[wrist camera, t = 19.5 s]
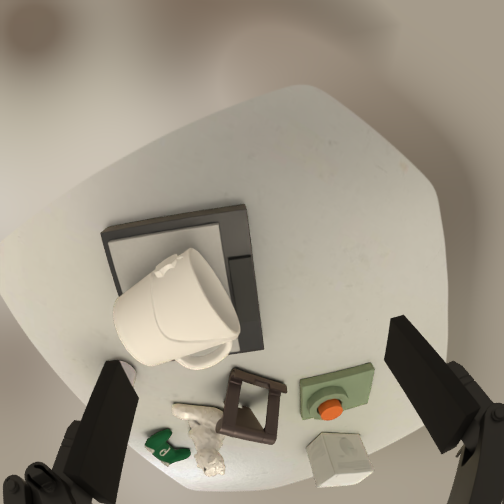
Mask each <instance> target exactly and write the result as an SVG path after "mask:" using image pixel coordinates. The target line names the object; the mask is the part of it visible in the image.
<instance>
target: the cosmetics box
mask: <svg viewBox="0 0 504 504" xmlns="http://www.w3.org/2000/svg"><path fill="white" fill-rule="evenodd" d="M306 450H307V453H308V457H309V460H310V464H311V468H312V471H313V475H314V479H315V482H316V486H317V487H332V486H344V485H354V484H357V483H359V482H360V481H362V480H363V479H364V478H366V477H367V476H369V475H370V474H372V473H373V472H374V471H375V470H374V468H373V466H372V463H371V461H370V459H369V456H368V454H367V452H366V449H365V447H364V445H363V442H362V440H361V437H360V434H341V433H321V434H320V435H319V436H318V437H317V438H316V439H315V440H314V441H313V442H312V443H311V444H310V445H309V446H307V447H306Z"/></svg>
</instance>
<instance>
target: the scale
mask: <svg viewBox="0 0 504 504" xmlns="http://www.w3.org/2000/svg"><path fill="white" fill-rule="evenodd" d="M100 234H101V237H102V241H103V245H104V249H105V252H106V256H107V260H108V263H109V267H110V270H111V273H112V276H113V280H114V283H115V286H116V289H117V292H118V295H119V297H120V296H121V295H122V294H124V293H125V292H126V291H128V290H129V289H130V288H131V287H133V286H134V285H135V284H137V283H138V282H139V281H141V280H142V279H143V278H144V277H146V276H147V275H148V274H150V273H151V272H152V271H154V270H155V269H156V266H157V265H158V264H159V263H161V262H162V261H163V260H165V259H166V258H168V257H170V256H172V255H174V254H177V256H179V255H181V254H182V253H184V252H185V251H186V250H188V249H189V248H193V249H195V250H197V251H198V252H199V253H200V254H201V255H202V256H203V257H204V259H205V260H206V261H207V262H208V264H209V265H210V266H211V268H212V269H213V271H214V272H215V274H216V275H217V277H218V279H219V280H220V282H221V284H222V285H223V287H224V289H225V291H226V293H227V294H228V296H229V298H230V300H231V303H232V305H233V307H234V309H235V312H236V314H237V317H238V320H239V324H240V333H239V336H238V337H237V338H236V339H234V340H232V348H231V351H230V352H229V354H228V355H230V354H237V353H245V352H251V351H258V350H264V344H263V336H262V328H261V320H260V312H259V304H258V296H257V288H256V280H255V272H254V264H253V256H252V248H251V240H250V232H249V224H248V216H247V209H246V206H245V204H242V205H235V206H228V207H221V208H214V209H208V210H201V211H195V212H189V213H182V214H176V215H170V216H164V217H159V218H153V219H147V220H142V221H136V222H131V223H125V224H120V225H115V226H110V227H107V228H106V229H105V230H104V231H102V232H101V233H100ZM221 345H222V344H220V345H217V346H214V347H211V348H208V349H205V350H202V351H199V352H196V353H193V354H190V356H195V357H198V356H204V355H207V354H209V353H211V352H213V351H215V350H216V349H218V348H219V347H220V346H221ZM171 361H175V359H174V360H171Z"/></svg>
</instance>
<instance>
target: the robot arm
mask: <svg viewBox="0 0 504 504" xmlns="http://www.w3.org/2000/svg"><path fill="white" fill-rule="evenodd" d="M384 361H385V362H386V364H387V365H388V367H389V369H390V370H391V372H392V373H393V375H394V376H395V378H396V379H397V381H398V383H399V384H400V386H401V387H402V389H403V390H404V392H405V394H406V395H407V397H408V399H409V400H410V402H411V403H412V405H413V407H414V408H415V410H416V412H417V413H418V415H419V416H420V418H421V420H422V421H423V423H424V425H425V426H426V428H427V430H428V431H429V433H430V435H431V437H432V438H433V440H434V442H435V443H436V445H437V447H438V449H439V450H440V452H441V454H443V453H445V452H447V451H449V450H451V449H453V448H455V447H456V446H457V444H458V443H459V441H460V440H462V441H463V443H464V445H463V446H462V447H461V449H460V450H459V451H458V453H457V455H456V457H458V456H459V455H460V454H461V455H460V460H459V464H458V468H457V472H456V476H455V479H454V484H453V487H452V490H451V493H450V497H449V500H448V503H447V504H501V502H502V501H503V502H502V504H504V404H502V403H493V402H492V401H491V400H490V398H489V397H488V396H487V395H486V394H485V392H484V391H483V390H482V389H481V387H480V386H479V385H478V384H477V383H476V382H475V381H474V379H473V378H472V377H471V375H469V373H468V372H467V371H466V370H465V368H464V367H463V366H461V365H460V364H458V363H456V362H455V361H452V362H449V363H447V364H446V363H445V362H444V360H443V359H442V358H441V357H440V356H439V354H438V353H437V352H436V351H435V350H434V349H433V347H432V346H431V345H430V344H429V343H428V342H427V340H426V339H425V338H424V337H423V336H422V335H421V334H420V333H419V331H418V330H417V329H416V328H415V327H414V326H413V325H412V324H411V322H410V321H409V320H408V319H407V318H406V317H405V316H404V315H401V316H398V317H394V318H391V320H390V327H389V334H388V340H387V346H386V352H385V358H384ZM138 400H139V397H138V396H137V394H136V392H135V390H134V388H133V386H132V384H131V383H130V381H129V379H128V377H127V375H126V373H125V371H124V369H123V367H122V365H121V363H120V361H119V360H113V361H106V362H105V364H104V367H103V369H102V371H101V373H100V376H99V378H98V380H97V383H96V385H95V387H94V390H93V392H92V394H91V397H90V399H89V402H88V404H87V407H86V409H85V412H84V414H83V417H82V420H81V421H76V420H74V421H73V422H72V423H71V425H70V426H69V427H68V428H67V431H66V433H65V436H64V439H63V441H62V443H61V445H62V446H60V449H59V451H58V454H57V457H56V460H55V463H54V466H53V468H52V470H51V469H50V468H49V467H48V466H47V465H45V464H44V463H42V462H35V463H32V464H31V465H29V466H28V468H27V469H26V471H25V480H26V481H24V480H23V479H22V478H20V477H19V476H17V475H11V476H8V477H7V478H6V479H5V481H4V484H3V499H4V504H92V503H91V502H92V498H94V499H96V500H97V501H98V502H100V503H104V504H115V503H116V498H117V492H118V487H119V481H120V477H121V472H122V467H123V462H124V458H125V453H126V449H127V444H128V440H129V436H130V432H131V427H132V423H133V419H134V415H135V411H136V407H137V403H138Z"/></svg>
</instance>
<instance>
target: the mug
mask: <svg viewBox="0 0 504 504" xmlns="http://www.w3.org/2000/svg"><path fill="white" fill-rule="evenodd" d="M113 318H114V324H115V327H116V330H117V333H118V336H119V338H120V340H121V342H122V343H123V345H124V346H125V348H126V349H127V351H128V352H129V353H130V354H131V355H132V356H133V357H134V358H135V359H136V360H137V361H139V362H140V363H142V364H144V365H147V366H155V365H158V364H162V363H165V362H168V361H171V360H174V359H175V360H176V361H177V362H178V363H180V364H181V365H182V366H184V367H186V368H189V369H194V370H199V369H205V368H208V367H211V366H213V365H215V364H217V363H219V362H220V361H222V360H223V359H224V358H225V357H226V356H227V355H228V354H229V352H230V351H231V348H232V340H234V339H236V338H237V337H238V336H239V333H240V324H239V320H238V317H237V314H236V312H235V309H234V307H233V305H232V303H231V300H230V298H229V296H228V294H227V293H226V291H225V289H224V287H223V285H222V284H221V282H220V280H219V279H218V277H217V275H216V274H215V272H214V271H213V269H212V268H211V266H210V265H209V264H208V262H207V261H206V260H205V259H204V257H203V256H202V255H201V254H200V253H199V252H198V251H197V250H195V249H193V248H189V249H188V250H186V251H185V252H184V253H182V254H181V255H179V256H177V254H174V255H172V256H170V257H168V258H166V259H165V260H163V261H162V262H161V263H159V264H158V265H157V266H156V269H155V270H154V271H152V272H151V273H150V274H148V275H147V276H146V277H144V278H143V279H142V280H141V281H139V282H138V283H137V284H135V285H134V286H133V287H131V288H130V289H129V290H128V291H126V292H125V293H124V294H122V295H121V296H120V297H119V298H117V300H116V301H115V304H114V308H113ZM220 344H222V345H221V346H220V347H219V348H218V349H216V350H215V351H213V352H211V353H209V354H207V355H204V356H198V357H195V356H190V354H193V353H196V352H199V351H202V350H205V349H208V348H211V347H214V346H217V345H220Z"/></svg>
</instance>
